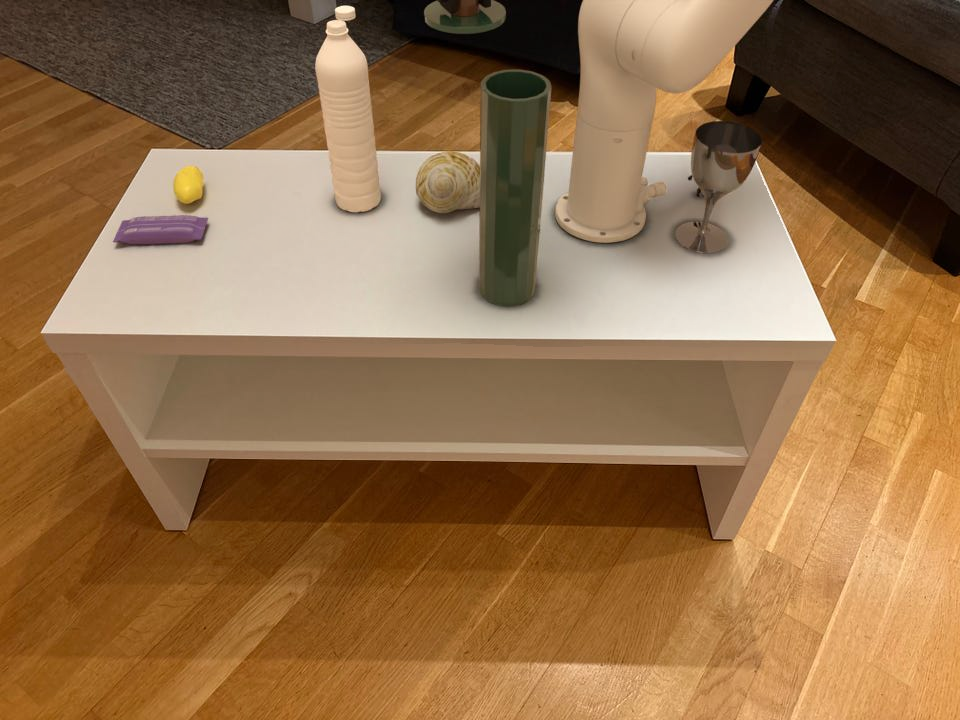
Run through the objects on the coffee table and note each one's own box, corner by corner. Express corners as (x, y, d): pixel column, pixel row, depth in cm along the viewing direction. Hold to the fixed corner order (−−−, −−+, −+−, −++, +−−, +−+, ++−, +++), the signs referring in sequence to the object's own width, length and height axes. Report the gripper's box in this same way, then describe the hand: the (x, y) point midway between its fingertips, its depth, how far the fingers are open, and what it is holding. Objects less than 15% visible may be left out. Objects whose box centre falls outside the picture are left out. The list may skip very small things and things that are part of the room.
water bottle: (375, 215, 104) (356, 34, 86) (330, 211, 104) (301, 31, 86) (388, 181, 110) (372, 6, 92) (346, 178, 110) (321, 4, 93)
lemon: (211, 180, 109) (204, 157, 106) (202, 211, 104) (194, 187, 101) (182, 181, 109) (174, 158, 106) (171, 212, 103) (163, 188, 101)
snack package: (124, 226, 101) (114, 248, 98) (120, 214, 100) (109, 236, 96) (210, 223, 102) (203, 245, 99) (206, 211, 101) (199, 233, 97)
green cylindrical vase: (518, 265, 96) (529, 64, 77) (544, 296, 92) (563, 92, 73) (469, 279, 94) (469, 77, 75) (494, 312, 90) (501, 106, 71)
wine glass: (660, 227, 102) (682, 127, 92) (709, 215, 104) (736, 116, 94) (692, 260, 97) (719, 158, 86) (742, 247, 99) (775, 146, 88)
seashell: (494, 176, 110) (493, 137, 100) (482, 235, 107) (480, 200, 97) (427, 166, 110) (420, 127, 101) (414, 224, 108) (405, 189, 98)
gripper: (379, -221, 54) (399, 34, 67) (573, -235, 59) (557, 6, 72) (348, -235, 59) (373, 5, 72) (530, -248, 63) (522, -20, 77)
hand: (464, 4), depth 72 cm, fingers closed on lid, 2 cm apart
